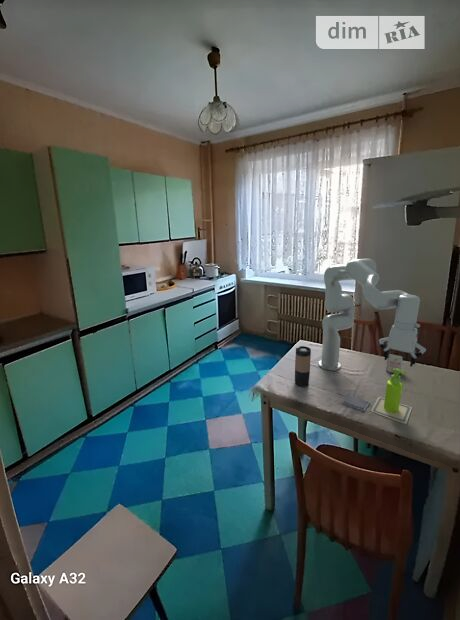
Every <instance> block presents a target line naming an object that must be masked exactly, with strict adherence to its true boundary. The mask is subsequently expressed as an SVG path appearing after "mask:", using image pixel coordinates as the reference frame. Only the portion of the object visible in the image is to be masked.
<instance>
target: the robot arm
mask: <svg viewBox="0 0 460 620" xmlns="http://www.w3.org/2000/svg"><path fill="white" fill-rule="evenodd" d="M376 263H377V262H376V261H374V259H373V258H372V259H371V258H357V259H351V260H350V261H348V262H347V263H345V264H335V265H331V266H329V267H327V268H326V269H325V271H324V272H323V273H324V274H323V281H324V286H325V287H324V288H325V291H324V292H325V294H324V295H325V297H324V298H325V300H324V301H325V303H324V305H325V310H326V311H327V312H329V313H330V314H327V315H325V316H324V317H323V319H322V320H321V323H322V324H321V326H322V349H321V359H320V360H319V361H318V366H319V367H320V368H322V369H323V370H326V371H327V370H328V371H337V370H339V369H341V368H342V363H340V361H339V359H340V347H341V336H340V334H339V333H338V332H339V331H342V330H348V329H351V328H352V327H353V325H354V322H355V301H354V298H353V296H351V295H350V294H348V293H342V290H343V288H342V285H341V283H340V282H342V281H352V280H353V281H355V282H356V283H358V285H360V286H361V288H362V294H363V297H364V299H365V300H366V301H367V302H368V303H369V304H370V305H371V306H372V307H374V308H375V309H377V310H381V311H382V310H389V309H396V310H395V316H394V324H392V325H391V328H390V331H389V334H388V336H387V337H383V338H380V339H378V343H379V345H380V347H381V348H382V350H383V358H384V361H388V356H389V354H390V349H392V350H394V351H399V352H404V353H408V354H410V355H411V359H410V362H409V363H410V365H409V366H410V367H413V365H416V360H417V358H419V357H421V356H422V355H423V354H424V353H425V352H426V351H427V349H426V348H425V347H424V346H422V345H421V344H420V343H418V328H420V327H421V324H419V323H417V322H418V321H417V319H418V314H419V308H420V302H421V299H420V297H419V296H418V295H414V294H409V293H408V292H406V291H403V290H401V289H395V290H385V291H380V290H379V289H377V287H376V286H377V284H378V283H379V280H380V275H379V274H378V273H377V272H376V271H377V264H376ZM384 342H386V343H387V344H385V343H384ZM416 349H418V350H420V351H418V352H416Z"/></svg>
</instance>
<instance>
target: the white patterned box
mask: <svg viewBox="0 0 460 620" xmlns="http://www.w3.org/2000/svg"><path fill="white" fill-rule="evenodd" d="M403 359H404V358H403V356H401V355H395V354H391V353H389V354H388V358H387V360H386V361H387V362H386V367H385V368H386V369H385V372H386V371H388V372H387V373H391V372H393V373H392V374H394V372H395V371H394V370H393V369H394V368H398V369H400V370H402V366H403V365H402V364H403ZM399 374H400V375H401V373H399Z"/></svg>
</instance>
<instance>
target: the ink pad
mask: <svg viewBox="0 0 460 620" xmlns="http://www.w3.org/2000/svg"><path fill="white" fill-rule="evenodd" d="M370 404H371V403H370V401H368V400H365V399H364V398H363V399H362V398H360V397H356V396H354V395H352V394H347V395H346V396H345V398H344V399H343V400H342V402H341V405H344V406H347V407H350V408H352V409H355V410H357V411H361V412H363V413H365V412H366V410H367V409H368V407H369V405H370Z"/></svg>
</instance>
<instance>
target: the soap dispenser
mask: <svg viewBox="0 0 460 620" xmlns="http://www.w3.org/2000/svg"><path fill="white" fill-rule="evenodd" d="M393 370H394V371H395V372H394V373H392V374H391V378H390V379H388V380H387V383H386V389H385V396H384V398H385V401H384V409H385V410H387V411H389V412H392V413H396V412H398V410H399V404H401V396H402V391H403V385H404V384H403V382H401V376H400V375H403V376H405V375H408V373H407V372H406V371H405V370H403V369H401V370H400V369H398V368H394V369H393ZM399 373H400V375H399Z"/></svg>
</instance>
